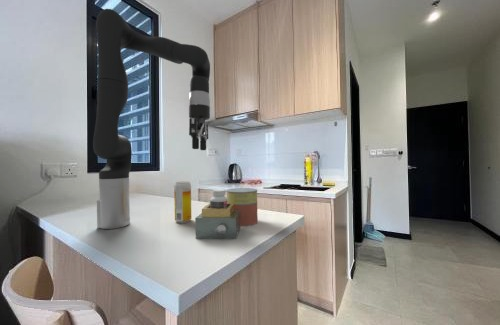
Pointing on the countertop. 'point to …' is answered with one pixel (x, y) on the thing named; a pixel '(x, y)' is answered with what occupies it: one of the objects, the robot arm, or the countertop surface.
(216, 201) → the pill bottle
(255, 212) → the canned food
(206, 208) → the gold grey hollow block
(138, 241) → the countertop surface
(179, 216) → the beer can
